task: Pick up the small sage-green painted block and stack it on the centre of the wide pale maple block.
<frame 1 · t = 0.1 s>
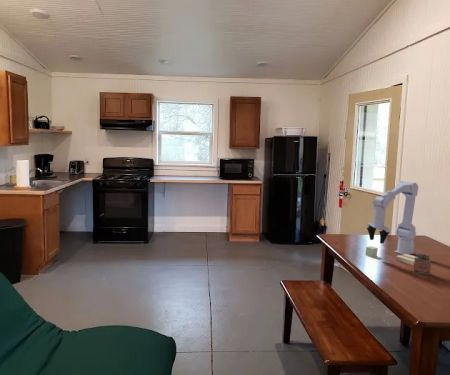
hand: (376, 241, 221), 10 cm above the table, tool pointing down, fingers open, 7 cm apart
sage block: (371, 255, 228), on the table
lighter: (421, 273, 202), on the table
maple block: (408, 262, 220), on the table
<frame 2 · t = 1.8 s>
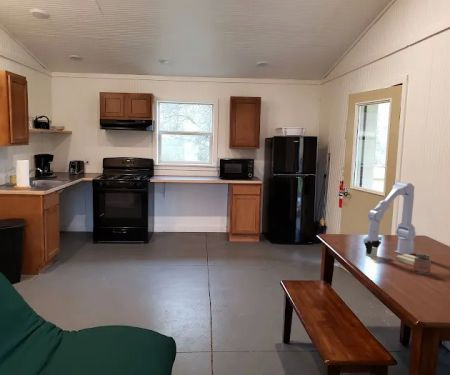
hand: (371, 253, 228), 1 cm above the table, tool pointing down, fingers closed on sage block, 4 cm apart
sage block: (371, 255, 228), on the table, touching gripper
everything else where it was.
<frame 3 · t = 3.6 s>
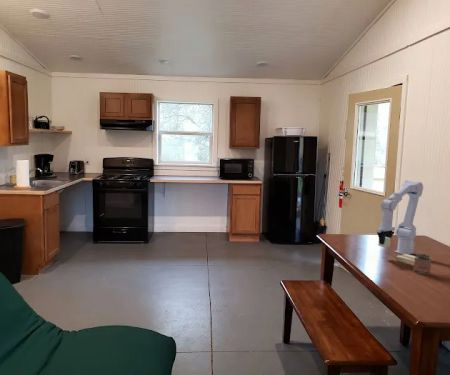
hand: (384, 243, 224), 8 cm above the table, tool pointing down, fingers closed on sage block, 4 cm apart
sage block: (384, 245, 225), point 7 cm above the table, touching gripper
everything else where it was.
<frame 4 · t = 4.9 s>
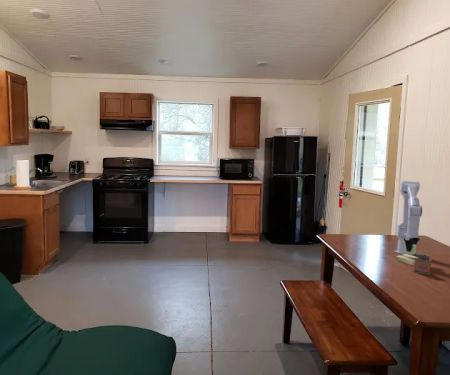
hand: (410, 250, 219), 6 cm above the table, tool pointing down, fingers closed on sage block, 4 cm apart
sage block: (409, 253, 219), point 5 cm above the table, touching gripper
everything else where it was.
when the fingers open (5 cm above the table, at t = 5.6 s): sage block drops 1 cm, resting on maple block.
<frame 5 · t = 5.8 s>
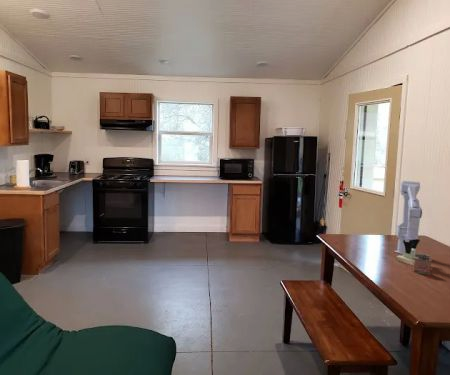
hand: (410, 252, 219), 5 cm above the table, tool pointing down, fingers open, 6 cm apart
sage block: (409, 257, 220), point 2 cm above the table, touching maple block
maple block: (408, 262, 220), on the table, touching sage block
everything else where it was.
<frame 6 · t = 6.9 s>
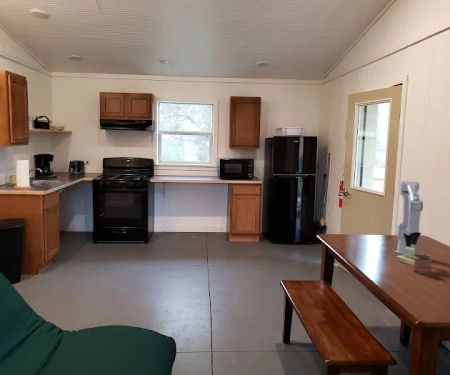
hand: (410, 245, 219), 9 cm above the table, tool pointing down, fingers open, 7 cm apart
sage block: (408, 257, 220), point 3 cm above the table
maple block: (408, 262, 220), on the table
everything else where it was.
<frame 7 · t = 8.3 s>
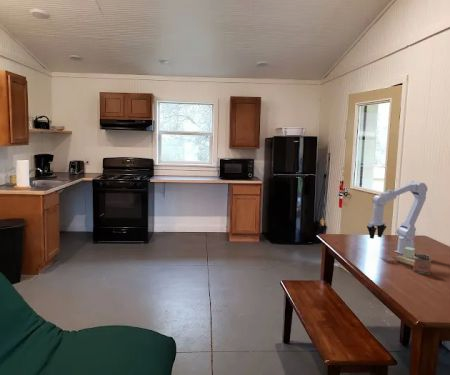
hand: (375, 237, 233), 9 cm above the table, tool pointing down, fingers open, 7 cm apart
nothing on the table moved.
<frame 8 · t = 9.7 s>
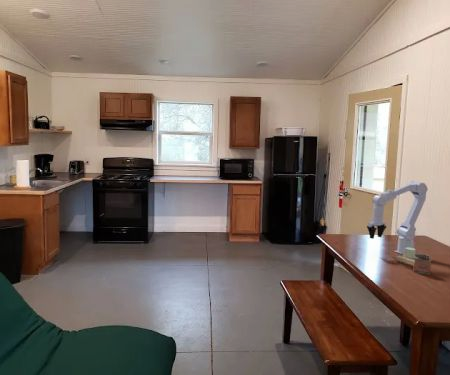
hand: (375, 237, 233), 9 cm above the table, tool pointing down, fingers open, 7 cm apart
nothing on the table moved.
at the end: sage block 0.4 cm off-centre on the maple block, point 3.0 cm above the maple block's base; sage block tilted 0°; the gripper is holding nothing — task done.
